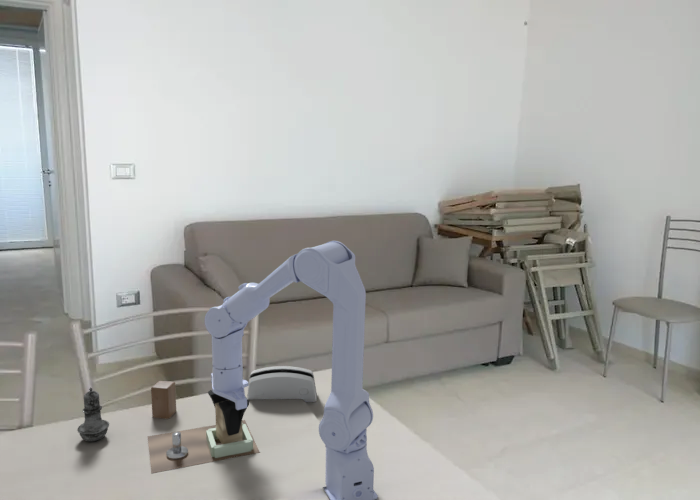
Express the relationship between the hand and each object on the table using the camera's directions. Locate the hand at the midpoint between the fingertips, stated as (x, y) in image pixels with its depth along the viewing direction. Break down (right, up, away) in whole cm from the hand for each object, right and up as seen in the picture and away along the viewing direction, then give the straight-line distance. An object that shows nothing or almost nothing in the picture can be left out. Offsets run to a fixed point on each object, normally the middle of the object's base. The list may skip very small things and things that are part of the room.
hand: (229, 428), depth 111 cm
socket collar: (0, -3, +1) cm, 3 cm away
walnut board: (-5, -4, +1) cm, 7 cm away
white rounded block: (+8, -1, +23) cm, 24 cm away
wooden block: (-17, -2, +13) cm, 22 cm away
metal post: (-9, -4, -3) cm, 11 cm away
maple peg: (0, -2, 0) cm, 2 cm away
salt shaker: (-28, -4, +2) cm, 28 cm away
